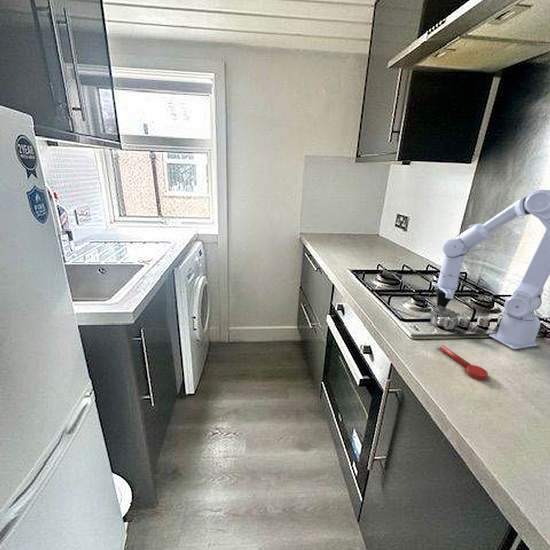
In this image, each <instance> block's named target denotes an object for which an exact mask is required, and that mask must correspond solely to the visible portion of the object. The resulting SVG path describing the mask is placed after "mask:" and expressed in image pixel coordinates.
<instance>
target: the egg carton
mask: <svg viewBox="0 0 550 550" xmlns="http://www.w3.org/2000/svg"><path fill="white" fill-rule="evenodd" d="M437 315H438V316H437ZM460 316H461V313H460V312H455V310H453V309H450V308H447V307H446V308H444V307H442V306H440V305H439V306H438V307H437V306H436V308H434V309H433V310H432V311H431V312H430V317H431V318H430V323H431V325H433V326H435V327H437V326H438V327H442V328H443V329H445V330H453V329H454V327H455V326H456V325H457V323H458V320H459V319H460ZM438 317H449V318H450V320H449V326H450V327H447V326H441V325H439V324H438V323H437V321H438V320H439V319H437V318H438ZM457 319H458V320H457Z"/></svg>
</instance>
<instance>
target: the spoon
mask: <svg viewBox="0 0 550 550" xmlns="http://www.w3.org/2000/svg"><path fill="white" fill-rule="evenodd" d="M439 350H441V351H442V352H443V353H444V354H446V355H447V356H449V357H450V358H452V360H454V361H456V362H457V363H459V364H460V365H461V366H463V367H464V368H465V372H466V374H467V375H468V376H469V377H471V378H473V379H475V380H478V381H479V380H480V381H486V380H487V378H488V376H489V373H488V371H487V370H486V369H484V368H483V367H481V366H478V365H475V364H471V363H470V362H468V361H467V360H465V359H464V358H462V357H461V356H460V355H458V354H456V352H453V351H452V350H451V349H450V348H448V347H446V346H445V345H443V344H441V345H439Z"/></svg>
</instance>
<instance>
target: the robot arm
mask: <svg viewBox="0 0 550 550" xmlns="http://www.w3.org/2000/svg"><path fill="white" fill-rule="evenodd" d="M529 215H531V216H534V217H535V218H537V219H538V220H539V221H540V222H541V224H542V225H543V226H544V228H545V231H544V233H543V235H542V236H541V237H542V238H541V239H540V242H539V244H538V246H537V248H536V250H535V252H534V254H533V256H532V259H531V260H530V263H529V265H528V267H527V269H526V271H525V273H524V275H523V278H522V280H521V281H520V283H519V284H518V286H517V287H516V288H515V289H514V292H513V293H512V294H511V296H509V297H507V298H506V299H505V301H504V303H503V304H504V305H503V307H504V311H503V314H502V317H501V320H500V323H499V326H498V329H497V332H496V333H489V334H488V337H491V338H492V339H494V340H496V341H498V342H499V343H501V344H503V345H504V346H506V347H508V348H510V349H511V350H519V349H525V348H533V347H537V346H538V344H537V343H535V342H536V339H537V336H538V333H539V330H540V328H541V321H540V318H539V317H538V316H537V315H536V313H535V311H537V310H538V309H540V307H541V306H542V303H543V301H542V300H543V299H542V295H543V293H544V286H546V285H545V284H546V282H547V281H548V279H549V276H550V189H538V190H537V189H536V190H535V191H532V192H531V193H530V194H529V195H527V196H524V197H521V198H520V199H518V200H516V201H515V202H513V203H512V204H510V205H509V206H508V207H507V208H505V209H503V210H502V211H500V212H499V213H497V214H496V215H495V216H493V217H492V218H490V219H489V220H487V221H486V222H484V223H476V224H474V223H472V224H470V225H469V226H468V229H466V230H465V231H464V232H461V233H460V234H459V233H458V234H456V235H455V238H451V239H447V241H445V243H444V244H443V246H442V252H443V253H444V255H443V258H442V263H441V267H440V272H439V276H438V279H437V283H435V282H434V283H433V284H432V286H433V287H434V288H435V294H436V308H437V307H438V306H439V305H440V306H442V307H444V308H447V306H448V305H449V303H450V301H452V300H453V299H454V298H455V292H456V291H457V285H458V282H459V277H460V274H461V271H462V266H463V262H464V258H465V256H466V255H467V254H468V253H469V252H470V250H472V249H474V248H476V247H477V246H479V245H481V244H482V243H484V242H486V241H488V240H489V239H490V238H491V236H492V233H493V232H494V231H496V230H498V229H499V228H501V227H503V226H505V225H507V224H509V223H510V222H512V221H514V220H515V219H517V218H519V217H523V216H529Z"/></svg>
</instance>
